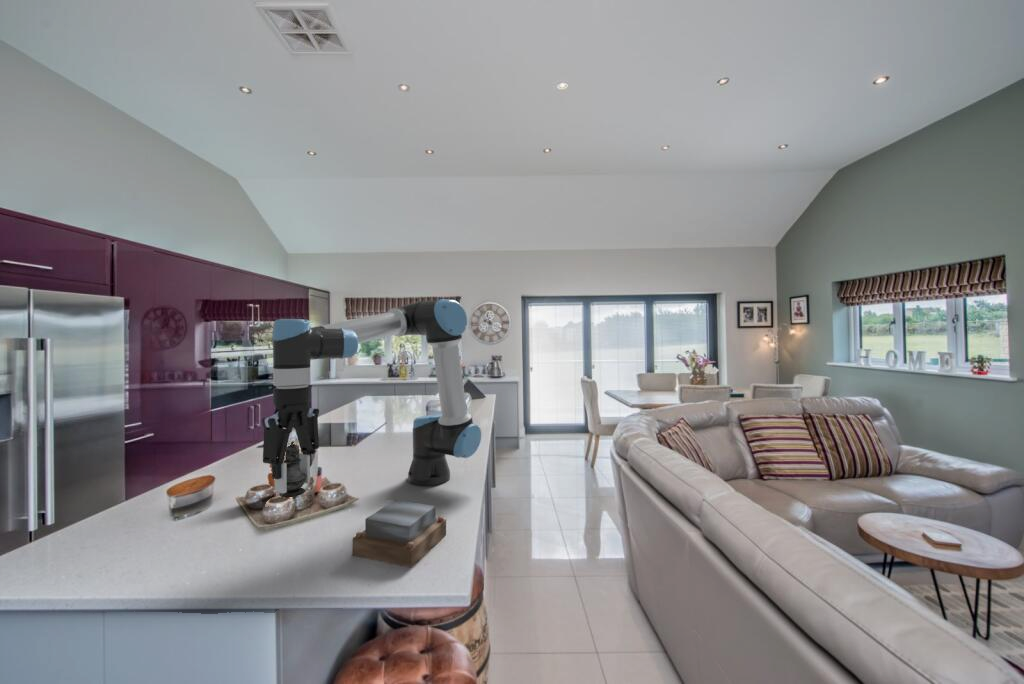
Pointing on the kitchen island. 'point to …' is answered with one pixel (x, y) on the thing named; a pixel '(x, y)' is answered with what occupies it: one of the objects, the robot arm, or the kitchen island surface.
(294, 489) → the dark grey tall piece
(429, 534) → the sharpening stone holder
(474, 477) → the kitchen island surface
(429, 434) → the robot arm
